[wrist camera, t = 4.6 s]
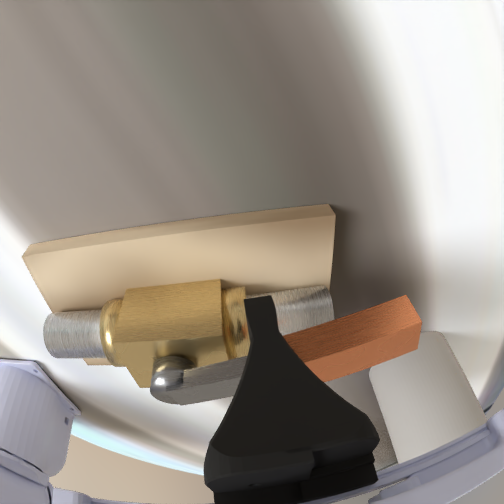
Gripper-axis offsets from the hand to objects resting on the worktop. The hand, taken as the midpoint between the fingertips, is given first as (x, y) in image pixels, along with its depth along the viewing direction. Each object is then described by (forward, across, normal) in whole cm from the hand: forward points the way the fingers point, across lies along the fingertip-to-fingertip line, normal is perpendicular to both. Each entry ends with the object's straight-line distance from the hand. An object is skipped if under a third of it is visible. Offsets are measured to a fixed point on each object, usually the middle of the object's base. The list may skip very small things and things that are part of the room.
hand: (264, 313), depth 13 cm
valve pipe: (+5, +4, +3) cm, 7 cm away
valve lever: (0, 0, +2) cm, 2 cm away
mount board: (+5, +4, +3) cm, 7 cm away
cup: (+5, -14, +15) cm, 21 cm away
